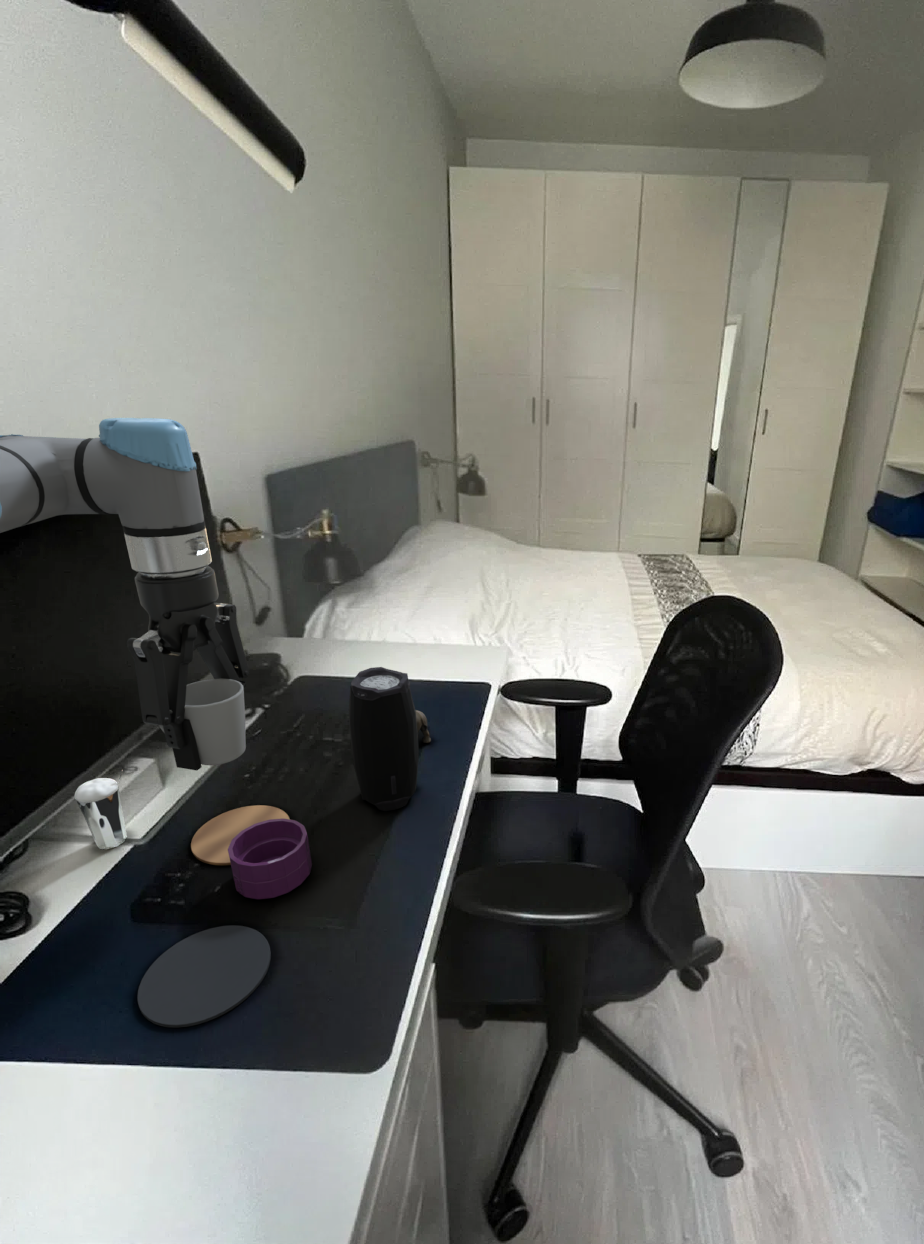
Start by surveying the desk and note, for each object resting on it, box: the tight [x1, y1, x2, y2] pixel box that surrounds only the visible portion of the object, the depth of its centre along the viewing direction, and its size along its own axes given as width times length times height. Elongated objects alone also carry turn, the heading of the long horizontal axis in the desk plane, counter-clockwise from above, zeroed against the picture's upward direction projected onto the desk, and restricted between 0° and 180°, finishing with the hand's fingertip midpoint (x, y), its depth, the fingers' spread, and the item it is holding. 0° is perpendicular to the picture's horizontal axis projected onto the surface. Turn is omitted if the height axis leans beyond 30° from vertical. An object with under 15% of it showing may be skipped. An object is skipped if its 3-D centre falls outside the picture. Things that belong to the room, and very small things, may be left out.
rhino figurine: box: [415, 709, 432, 744], centre depth 110 cm, size 4×14×6 cm, turn 62°
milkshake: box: [74, 769, 128, 850], centre depth 81 cm, size 4×5×10 cm
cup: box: [158, 678, 247, 767], centre depth 75 cm, size 8×10×8 cm
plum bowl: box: [228, 818, 313, 900], centre depth 77 cm, size 9×9×6 cm
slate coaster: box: [136, 924, 272, 1029], centre depth 65 cm, size 12×12×1 cm
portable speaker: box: [348, 666, 420, 812], centre depth 90 cm, size 9×9×20 cm
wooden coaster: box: [190, 804, 290, 866], centre depth 85 cm, size 12×12×1 cm
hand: (212, 750), depth 77 cm, fingers closed on cup, 7 cm apart
